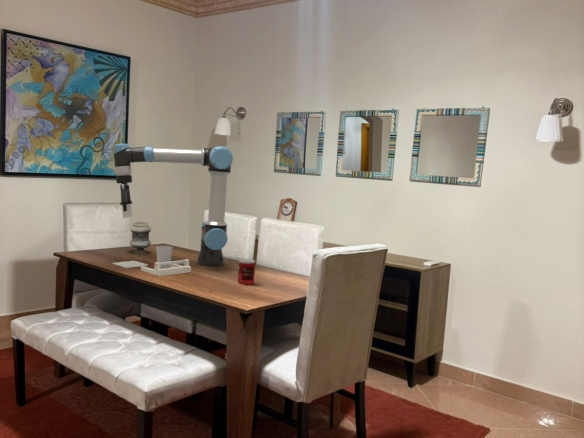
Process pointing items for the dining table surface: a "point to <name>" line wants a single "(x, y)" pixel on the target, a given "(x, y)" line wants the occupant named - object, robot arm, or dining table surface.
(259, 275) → the dining table surface
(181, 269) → the dispenser bay
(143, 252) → the apothecary jar
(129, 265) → the mat
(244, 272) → the canned food
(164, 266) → the cup
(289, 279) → the dining table surface
